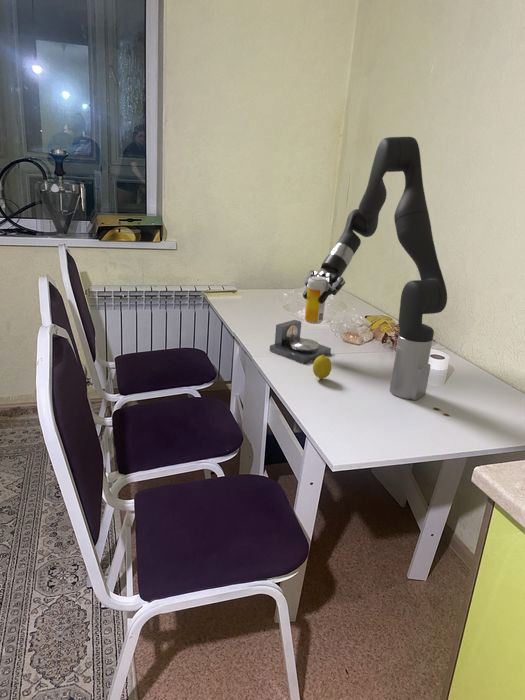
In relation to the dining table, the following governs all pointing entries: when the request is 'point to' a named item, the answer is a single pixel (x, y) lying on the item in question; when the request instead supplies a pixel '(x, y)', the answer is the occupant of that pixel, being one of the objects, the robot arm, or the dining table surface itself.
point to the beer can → (315, 300)
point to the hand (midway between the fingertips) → (312, 299)
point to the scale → (288, 333)
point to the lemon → (322, 366)
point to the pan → (304, 344)
